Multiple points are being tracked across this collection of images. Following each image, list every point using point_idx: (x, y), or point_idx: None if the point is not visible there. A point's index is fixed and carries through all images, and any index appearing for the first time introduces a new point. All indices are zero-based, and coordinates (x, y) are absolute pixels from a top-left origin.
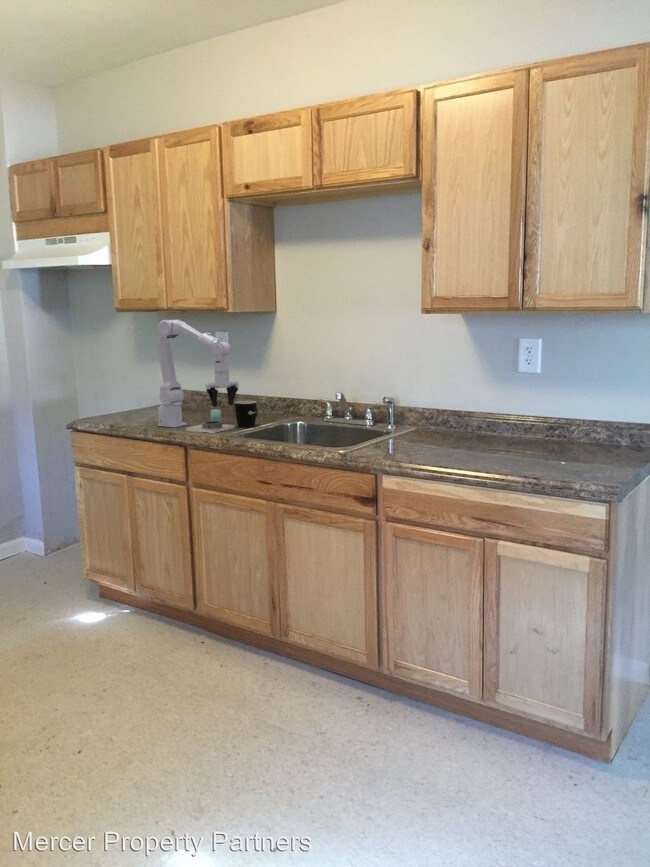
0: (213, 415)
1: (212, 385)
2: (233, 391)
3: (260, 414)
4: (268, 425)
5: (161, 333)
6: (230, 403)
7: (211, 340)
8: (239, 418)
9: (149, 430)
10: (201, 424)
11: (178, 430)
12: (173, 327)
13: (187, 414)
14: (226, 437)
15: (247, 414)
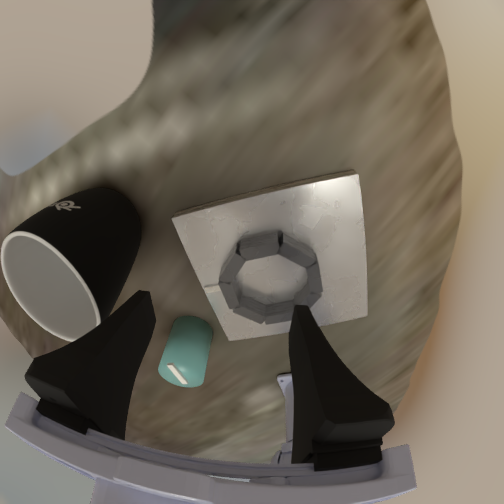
0: (202, 356)
1: (370, 487)
2: (85, 364)
3: (35, 339)
4: (40, 176)
5: None
6: (147, 309)
7: None
8: (128, 234)
9: (404, 364)
10: (272, 333)
11: (371, 326)
12: None
13: (182, 430)
14: (378, 37)
15: (85, 207)
